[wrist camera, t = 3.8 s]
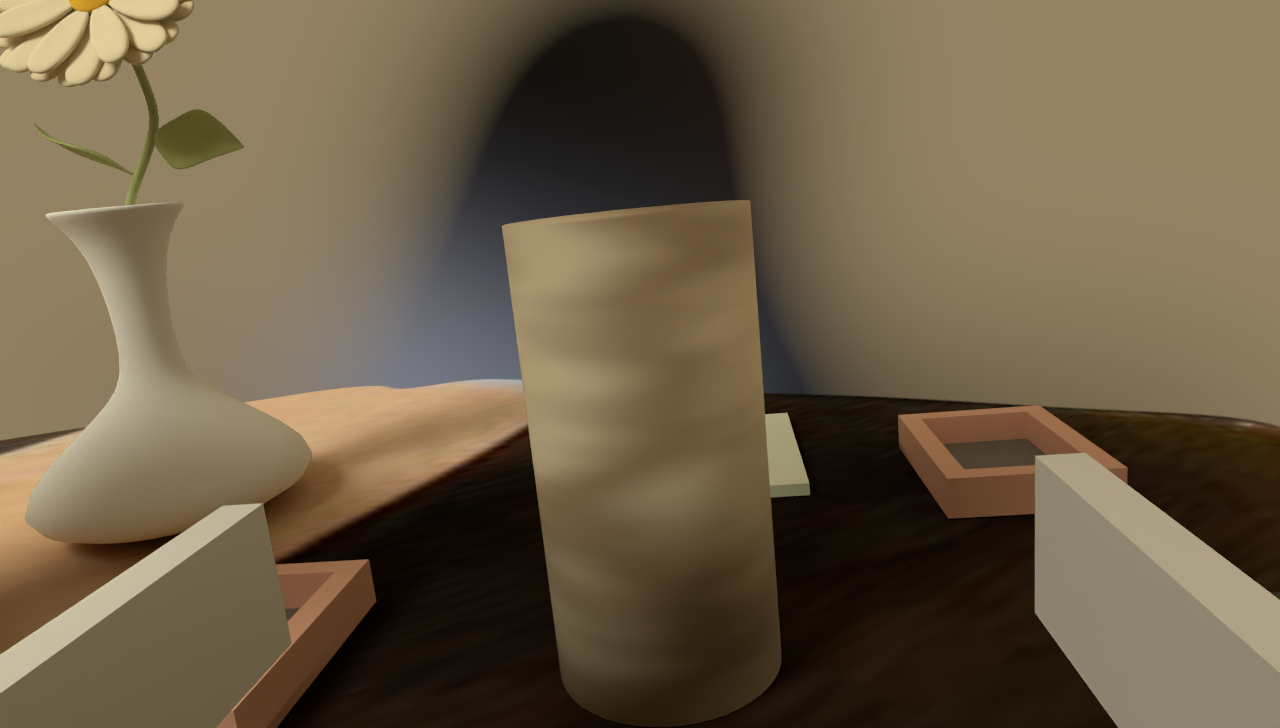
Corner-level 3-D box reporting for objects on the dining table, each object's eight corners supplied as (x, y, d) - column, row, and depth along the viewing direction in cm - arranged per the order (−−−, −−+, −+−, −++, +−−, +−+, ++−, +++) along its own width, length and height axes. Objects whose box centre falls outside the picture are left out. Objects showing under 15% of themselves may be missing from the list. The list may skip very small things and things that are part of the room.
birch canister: (540, 731, 20) (471, 232, 18) (579, 607, 26) (531, 218, 24) (791, 723, 20) (756, 205, 17) (773, 597, 25) (745, 197, 23)
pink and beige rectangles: (16, 773, 21) (0, 719, 20) (392, 449, 45) (388, 423, 45) (1404, 733, 17) (1411, 667, 17) (1000, 407, 42) (1000, 378, 41)
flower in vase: (-26, 558, 35) (-212, -85, 30) (204, 466, 45) (96, -27, 40) (191, 590, 30) (12, -182, 25) (396, 478, 40) (301, -87, 35)
